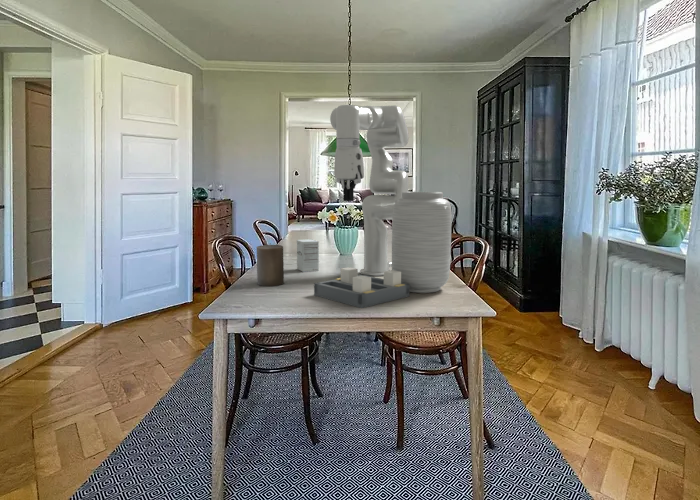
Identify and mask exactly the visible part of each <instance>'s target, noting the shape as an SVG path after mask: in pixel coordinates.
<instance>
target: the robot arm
mask: <svg viewBox="0 0 700 500" xmlns="http://www.w3.org/2000/svg"><path fill="white" fill-rule="evenodd" d="M329 118H330V119H329V122H330V125H331V127H332V128H333V130H335V131H336V136H335V137H336V149H335V154H334V161H333V162H334V167H333V169H334V170H333V171H334V172H333V173H334V178H335V179H336V180H335V181H336V183H338V184H340V186H341V189H343V191H342V192H343V194H342V195H343V196H342V198H343V202H353V201H354V197H355V196H354V192H355V191H354V189H356V186H357V185H359V184H361V183H362V180H363V179H364V177H365V167H364V165H365V164H364V155H363V151H362V148H361V147H360V145H361V140H360V131H366V135H365V136H366V143H367V146H368V150H369V152H370V153H369V154H370V156H371V168H370V176H369V182H368V184H369V191H370V192H371V193H372V195H368V196H365V197H364V199H363V200H362V204H361V208H362V209H361V210H362V217H363V224H364V225H363V229H364V230H363V231H364V232H363V236H364V237H363V238H364V239H363V243H364V244H363V256H364V257H363V268H361V269H359V273H360V275H366V276H370V277H377V276H378V277H379V276H380V277H382V276H383V277H384V271H390V270H391V269H390V268H392V261H391V262H390V261H388V247H389V245H388V244H389V238H388V236H389V232H388V227H387V226H386V224H385V223H384V221H383V220H391V221H392V217H393V206H394V203H395V202H396V201H397V200H398V199H400V198H402V192H409V190H410V189H409V187H410V186H409V185H410V180H409V175H408V173H407V172H406V171H404V170H393V166H394V161H393V160H394V159H393V158H392V157H391V155H390V153H388V151H387V150H386V149H387V148H390V149H391V148H392V149H393V148H398V149H399V148H404V147H406V146H407V145H408V143H409V138H410V136H409V129H408V125H407V123H406V119H405V116H404V112H403V110H402V109H401V107H399V106H398V105H362V106H361V105H360V106H358V105H354V104H341V105H338V106H337V107H335V108H334V109H332V111H331V113H330V116H329ZM385 148H386V149H385Z"/></svg>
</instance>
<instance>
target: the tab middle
mask: <svg viewBox="0 0 700 500" xmlns="http://www.w3.org/2000/svg"><path fill="white" fill-rule="evenodd" d="M358 275H359V273H358V268H355V267H344V268H340V278H341V282H346V283H350V284H353V277H357V276H358Z"/></svg>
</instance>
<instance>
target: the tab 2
mask: <svg viewBox="0 0 700 500" xmlns="http://www.w3.org/2000/svg"><path fill="white" fill-rule="evenodd" d="M389 270H390V271H384V275H383V279H384V285H389V286H394V285H399V284H401V272H400V271H394V270H392V269H389Z"/></svg>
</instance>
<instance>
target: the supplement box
mask: <svg viewBox="0 0 700 500" xmlns="http://www.w3.org/2000/svg"><path fill="white" fill-rule="evenodd" d="M319 243H320V241H317V240H316V239H311V238H310V239H308V238H307V239H297V240H296V270H299V271H301V272H302V273H306V272H307V273H308V272H309V273H311V272H319V269H320V268H319V267H320V266H319V265H320V264H319V263H320V261H319V259H320V258H319V256H320V255H319V252H320V251H319V247H320V245H319Z"/></svg>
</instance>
